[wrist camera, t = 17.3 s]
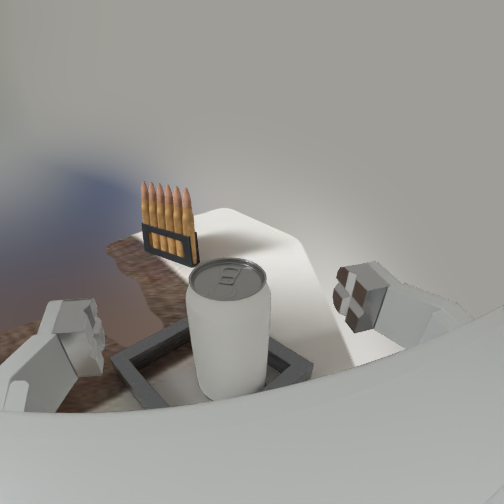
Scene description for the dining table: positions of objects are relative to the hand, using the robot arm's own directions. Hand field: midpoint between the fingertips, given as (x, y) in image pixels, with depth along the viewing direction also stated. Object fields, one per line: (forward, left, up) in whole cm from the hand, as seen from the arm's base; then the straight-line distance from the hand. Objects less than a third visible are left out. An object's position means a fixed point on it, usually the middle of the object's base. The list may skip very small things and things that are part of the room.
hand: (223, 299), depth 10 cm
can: (-8, +7, -19) cm, 22 cm away
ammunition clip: (-33, +17, -19) cm, 42 cm away
